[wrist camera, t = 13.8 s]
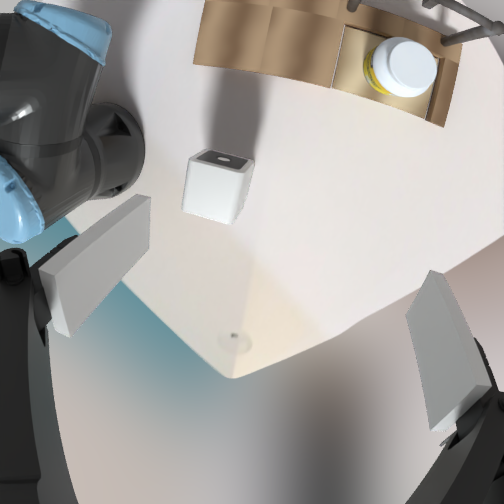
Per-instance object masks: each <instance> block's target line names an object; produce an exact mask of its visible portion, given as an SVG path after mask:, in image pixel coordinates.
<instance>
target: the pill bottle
mask: <svg viewBox="0 0 504 504" xmlns="http://www.w3.org/2000/svg"><path fill="white" fill-rule="evenodd" d="M363 73H364V76H365V79H366V80H367V82H368V83H369V85H370V86H371V87H372V88H373V89H375V90H376V91H378V92H380V93H382V94H385V95H391V96H398V97H415V96H418V95H420V94H422V93H424V92H425V91H426V90H427V89H428V88H429V86H430V85H431V84H432V83H433V81H434V80H435V78H436V74H437V65H436V61H435V59H434V57H433V55H432V53H431V52H430V51H429V50H428V49H427V48H426V47H424V46H423V45H421V44H419V43H417V42H415V41H413V40H411V39H408V38H404V37H393V38H389V39H387V40H385V41H383V42H382V43H380V44H379V45H377V46H376V47H374V48H373V49H372V50H370V51H369V52H368V53H367V55H366V56H365V58H364V61H363Z"/></svg>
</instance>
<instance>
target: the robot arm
mask: <svg viewBox="0 0 504 504" xmlns="http://www.w3.org/2000/svg"><path fill="white" fill-rule="evenodd" d="M14 11H15V12H14V13H0V238H1V239H3V240H4V241H6V242H8V243H12V244H20V243H23V242H25V241H27V240H28V239H30V238H31V237H33V236H35V235H38V234H41V233H42V232H43V231H44V230H45V229H46V228H48V227H49V226H51V225H52V224H54V223H55V222H56V221H58V220H59V219H61V218H62V217H63V216H65V215H67V214H68V213H69V212H71V211H72V210H74V209H75V208H77V207H78V206H80V205H81V204H83V203H84V202H86V201H88V200H97V199H107V198H112V197H115V196H117V195H119V194H121V193H122V192H124V191H125V190H127V189H128V188H130V187H131V186H132V185H133V184H134V183H135V181H136V180H137V179H138V177H139V175H140V173H141V170H142V167H143V163H144V156H145V148H144V141H143V136H142V133H141V130H140V128H139V126H138V124H137V122H136V121H135V119H134V118H133V117H132V115H131V114H130V113H129V112H127V111H126V110H125V109H124V108H122V107H120V106H118V105H116V104H112V103H98V104H93V105H91V103H92V100H93V96H94V93H95V90H96V87H97V83H98V80H99V77H100V74H101V71H102V68H103V66H105V63H106V62H105V58H106V54H107V51H108V48H109V44H110V41H111V38H112V29H111V27H110V25H109V24H108V23H107V22H106V21H104V20H102V19H100V18H97V17H95V16H92V15H89V14H86V13H83V12H80V11H76V10H73V9H69V8H66V7H62V6H57V5H53V4H46V3H42V2H36V1H31V0H22V1H20V2H19V3H18V4H17V6H16V7H14ZM150 203H151V197H148V196H143V195H139V194H136V195H134V196H133V197H131V198H130V199H129V200H127V201H126V202H124V203H123V204H121V205H120V206H119V207H117V208H116V209H114V210H113V211H111V212H110V213H109V214H107V215H106V216H105V217H103V218H102V219H100V220H99V221H98V222H96V223H95V224H94V225H92V226H91V227H90V228H88V229H87V230H86V231H84V232H83V233H82V234H81V235H79V236H78V235H74V236H72V237H70V238H67V239H65V240H64V241H62V242H61V243H60V244H58V245H57V247H55V248H53V249H52V250H51V251H50V253H47V254H46V255H45V256H43V257H42V258H41V259H40V260H38V261H37V262H36V263H35V264H34V265H32V266H31V267H30V268H29V264H28V259H27V255H26V252H25V251H24V250H23V249H20V248H10V249H6V250H4V251H2V252H0V504H78V501H77V499H76V496H75V492H74V489H73V486H72V482H71V479H70V475H69V471H68V468H67V463H66V459H65V455H64V451H63V447H62V442H61V437H60V432H59V426H58V421H57V415H56V409H55V402H54V395H53V387H52V378H51V368H50V356H49V339H48V330H47V326H46V325H47V324H48V322H49V321H50V320H51V319H52V321H53V324H54V328H55V330H56V331H58V332H60V333H61V334H63V335H65V336H68V337H69V338H71V337H72V336H73V335H74V334H75V332H76V331H77V330H78V329H79V328H80V326H81V325H82V324H83V323H84V322H85V320H86V319H87V318H88V317H89V316H90V314H91V313H92V312H93V311H94V310H95V309H96V307H97V306H98V305H99V304H100V303H101V302H102V300H103V299H104V298H105V297H106V296H107V295H108V294H109V292H110V291H111V290H112V289H113V288H114V287H115V286H116V284H117V283H118V282H119V281H120V280H121V279H122V278H123V277H124V276H125V274H126V273H127V272H128V271H129V270H130V269H131V268H132V267H133V266H134V265H135V263H136V262H137V261H138V260H139V259H140V258H141V257H142V256H143V255H144V254H145V253H146V252H147V251H148V250H149V237H150ZM406 318H407V322H408V326H409V330H410V333H411V338H412V342H413V345H414V350H415V354H416V359H417V363H418V367H419V372H420V377H421V382H422V387H423V392H424V397H425V403H426V408H427V414H428V421H429V427H430V431H446V430H448V429H449V428H450V427H451V426H452V425H453V424H454V423H455V422H456V426H457V430H456V431H455V432H454V433H453V434H452V435H450V436H449V437H448V438H447V439H445V440H444V441H443V442H442V443H441V444H440V446H442V445H444V444H445V443H446V445H445V447H444V448H443V450H442V452H441V453H440V455H439V456H438V458H437V460H436V461H435V463H434V464H433V466H432V467H431V469H430V470H429V472H428V473H427V475H426V476H425V478H424V479H423V480H422V482H421V483H420V485H419V486H418V488H417V489H416V490H415V491H414V493H413V494H412V495H411V497H410V498H409V500H408V501H407V502H406V503H405V504H504V392H500V391H499V390H498V387H497V384H496V382H495V379H494V376H493V373H492V370H491V368H490V366H489V363H488V360H487V359H486V355H485V353H484V351H483V348H482V346H481V345H480V344H479V342H478V341H477V340H476V338H474V337H473V336H472V333H471V331H470V328H469V326H468V324H467V322H466V320H465V318H464V315H463V313H462V311H461V309H460V307H459V305H458V302H457V300H456V298H455V296H454V295H453V292H452V290H451V288H450V286H449V284H448V283H447V280H446V279H445V277H444V275H443V274H442V273H439V272H435V271H432V270H430V271H429V273H428V275H427V277H426V279H425V281H424V283H423V285H422V287H421V288H420V290H419V292H418V294H417V296H416V298H415V300H414V301H413V303H412V305H411V307H410V309H409V310H408V312H407V314H406Z"/></svg>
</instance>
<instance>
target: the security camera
mask: <svg viewBox="0 0 504 504" xmlns="http://www.w3.org/2000/svg"><path fill="white" fill-rule="evenodd" d="M253 170H254V161H253V160H250V159H247V158H243V157H239V156H236V155H232V154H228V153H224V152H220V151H216V150H212V149H204V150H202V151H201V152H199V153H197V154H195V155H194V156H192V157H190V158H189V161H188V167H187V173H186V180H185V186H184V193H183V200H182V207H181V209H182V211H184V212H187V213H190V214H194V215H197V216H201V217H204V218H208V219H211V220H214V221H218V222H221V223H225V224H233V223H234V222H235V220H236V218H237V217H238V215H239V214H240V212H241V210H242V209H243V206H244V202H245V201H246V199H247V195H248V190H249V186H250V182H251V178H252V174H253Z"/></svg>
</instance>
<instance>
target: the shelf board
mask: <svg viewBox="0 0 504 504" xmlns="http://www.w3.org/2000/svg"><path fill="white" fill-rule="evenodd" d="M360 2H361V0H205V4H204V9H203V13H202V18H201V23H200V28H199V33H198V38H197V44H196V49H195V55H194V60H193V64H195V65H204V66H213V67H222V68H230V69H237V70H244V71H250V72H257V73H263V74H268V75H274V76H279V77H284V78H289V79H293V80H298V81H302V82H307V83H311V84H315V85H319V86H323V87H327V88H330V86H331V82H332V77H333V73H334V69H335V64H336V59H337V55H338V50H339V45H340V41H341V36H342V31H343V26H344V24H345V25H348V26H352V27H355V28H359V29H362V30H366V31H369V32H372V33H375V34H378V35H381V36H384V37H387V38H393V37H404V38H408V39H411V40H413V41H415V42H417V43H419V44H421V45H423V46H424V47H426V48H427V49H428V50H429V51H430V52H431V53H432V55H433V56H435V57H437V58H440V60H439V65H438V70H437V75H436V79H435V84H434V88H433V92H432V96H431V100H430V104H429V108H428V112H427V116H426V121H429V122H431V123H433V124H436V125H438V126H441V127H444V125H445V121H446V118H447V114H448V110H449V106H450V102H451V98H452V94H453V90H454V85H455V81H456V76H457V71H458V66H459V61H460V56H461V50H462V44H461V43H463V42H467V41H471V40H475V39H480V38H484V37H489V36H494V35H498V36H499V35H501V34H504V24H503V23H502V22H501V21H495V22H492V21H491V20H489V19H488V18H486V17H484V16H482V15H481V14H479V13H477V12H475V11H474V10H472V9H470V8H468V7H466V6H464V5H462V4H461V3H459V2H457V1H455V0H423V1H422V6H423V7H425V8H428V9H431V8H433V7H434V6H436V5H437V4H441V5H443V6H445V7H447V8H449V9H451V10H454V11H456V12H458V13H459V14H461V15H463V16H465V17H467V18H469V19H471V20H473V21H474V22H476V23H478V24H480V25H481V26H478V27H474V28H471V29H468V30H465V31H462V32H458V33H455V34H452V35H449V36H445V35H443V34H441V33H439V32H437V31H434V30H432V29H430V28H428V27H425V26H423V25H420V24H418V23H415V22H413V21H410V20H408V19H405V18H403V17H400V16H397V15H394V14H392V13H389V12H386V11H383V10H380V9H377V8H373V7H370V6H367V5H364V4H360ZM385 40H387V39H385V38H382V37H379V36H376V35H373V34H370V33H367V32H364V31H360V30H357V29H353V28H350V27H346V26H345V31H344V36H343V40H342V45H341V50H340V54H339V59H338V64H337V68H336V73H335V77H334V81H333V86H332V88H334V89H337V90H341V91H345V92H348V93H352V94H355V95H358V96H361V97H365V98H368V99H371V100H374V101H377V102H380V103H383V104H386V105H389V106H392V107H394V108H397V109H400V110H403V111H405V112H408V113H411V114H413V115H416V116H418V117H421V118H423V119H424V118H425V114H426V110H427V107H428V103H429V99H430V95H431V90H432V86H433V83H432V84H431V85H430V86H429V88H428V89H427V90H426V91H425V92H424V93H422V94H420V95H418V96H415V97H398V96H391V95H385V94H382V93H380V92H378V91H376V90H375V89H373V88H372V87H371V86H370V85H369V83H368V82H367V80H366V79H365V76H364V73H363V61H364V58H365V56H366V55H367V53H368V52H369V51H370V50H372V49H373V48H374V47H376V46H377V45H379V44H380V43H382V42H383V41H385ZM434 59H435V61H436V65H437V63H438V59H436V58H434ZM433 82H434V81H433Z"/></svg>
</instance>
